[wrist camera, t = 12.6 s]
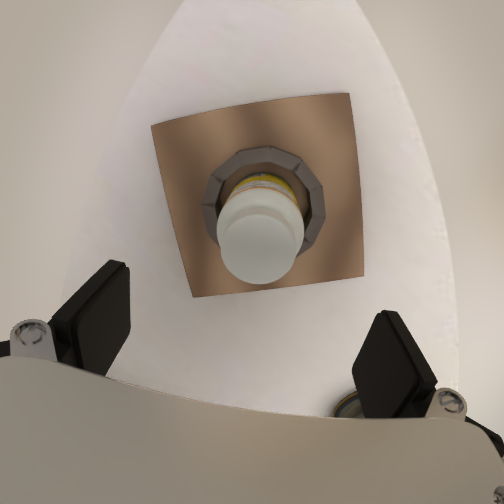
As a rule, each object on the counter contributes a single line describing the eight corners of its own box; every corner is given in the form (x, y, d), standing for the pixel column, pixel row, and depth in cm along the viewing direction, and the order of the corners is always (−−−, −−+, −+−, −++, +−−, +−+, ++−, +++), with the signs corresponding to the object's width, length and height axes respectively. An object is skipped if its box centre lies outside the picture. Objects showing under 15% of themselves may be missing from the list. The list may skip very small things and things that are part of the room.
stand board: (195, 291, 30) (187, 312, 27) (155, 125, 24) (138, 126, 20) (360, 270, 28) (371, 289, 25) (345, 94, 22) (357, 89, 19)
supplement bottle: (246, 159, 24) (231, 182, 15) (307, 188, 24) (329, 227, 15) (219, 218, 26) (193, 271, 17) (278, 245, 26) (281, 308, 17)
